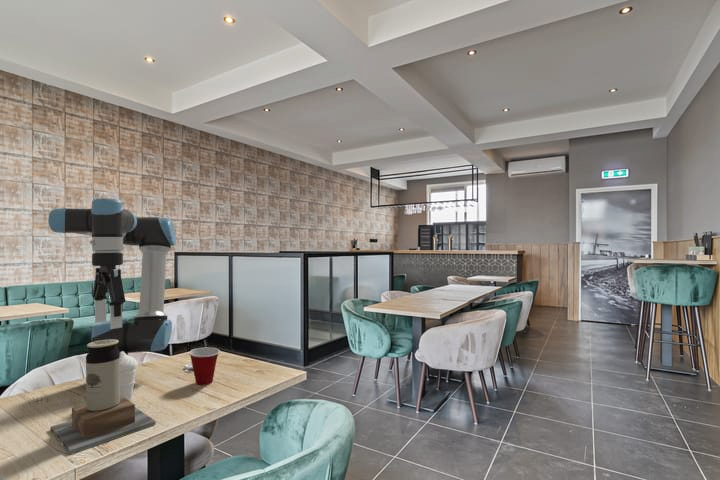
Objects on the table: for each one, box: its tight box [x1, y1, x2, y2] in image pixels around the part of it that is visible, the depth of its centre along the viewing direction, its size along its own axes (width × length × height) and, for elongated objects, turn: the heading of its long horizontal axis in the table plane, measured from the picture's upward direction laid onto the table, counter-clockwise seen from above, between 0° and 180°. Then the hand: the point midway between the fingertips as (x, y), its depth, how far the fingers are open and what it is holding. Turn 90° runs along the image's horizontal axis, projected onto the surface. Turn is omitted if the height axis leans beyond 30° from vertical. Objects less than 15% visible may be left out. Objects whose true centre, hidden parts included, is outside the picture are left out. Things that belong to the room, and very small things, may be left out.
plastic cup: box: [189, 347, 221, 386], centre depth 142 cm, size 11×11×12 cm
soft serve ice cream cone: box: [120, 351, 139, 401], centre depth 128 cm, size 8×8×16 cm
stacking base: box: [49, 395, 157, 455], centre depth 107 cm, size 20×20×6 cm
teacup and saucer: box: [183, 360, 194, 373], centre depth 158 cm, size 9×8×4 cm
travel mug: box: [85, 339, 120, 411], centre depth 108 cm, size 8×8×18 cm
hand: (108, 325), depth 110 cm, fingers open, 13 cm apart
